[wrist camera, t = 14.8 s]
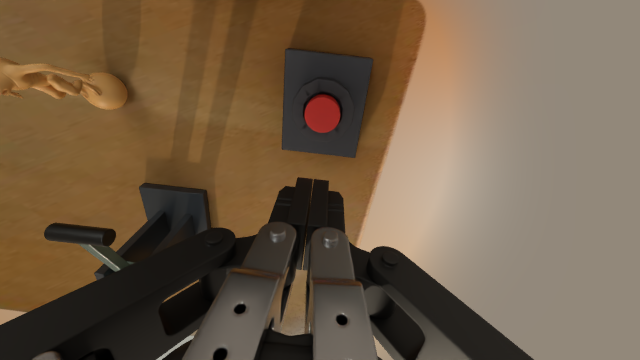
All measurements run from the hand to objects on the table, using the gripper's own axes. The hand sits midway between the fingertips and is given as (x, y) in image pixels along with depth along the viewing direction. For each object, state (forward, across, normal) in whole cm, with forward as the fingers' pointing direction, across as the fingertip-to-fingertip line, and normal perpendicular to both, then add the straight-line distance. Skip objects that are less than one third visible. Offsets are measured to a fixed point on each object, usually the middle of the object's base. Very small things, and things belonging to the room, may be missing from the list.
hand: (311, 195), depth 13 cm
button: (+17, 0, 0) cm, 17 cm away
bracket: (+20, +20, +20) cm, 35 cm away
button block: (+21, 0, 0) cm, 21 cm away
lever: (+9, +20, +15) cm, 27 cm away
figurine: (+21, +25, 0) cm, 33 cm away
